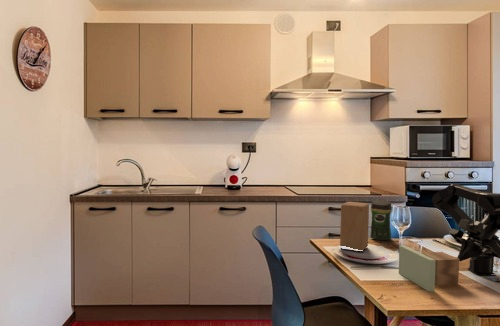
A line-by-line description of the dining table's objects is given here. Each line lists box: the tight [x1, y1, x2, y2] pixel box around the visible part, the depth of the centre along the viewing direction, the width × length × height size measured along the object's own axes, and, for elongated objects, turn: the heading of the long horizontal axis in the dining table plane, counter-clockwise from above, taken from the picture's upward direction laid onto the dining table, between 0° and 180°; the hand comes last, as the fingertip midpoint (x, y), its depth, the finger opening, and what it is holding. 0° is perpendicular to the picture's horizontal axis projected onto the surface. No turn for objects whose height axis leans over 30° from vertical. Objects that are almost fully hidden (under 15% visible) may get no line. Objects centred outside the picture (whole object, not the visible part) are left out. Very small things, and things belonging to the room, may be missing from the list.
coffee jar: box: [369, 200, 393, 241], centre depth 172 cm, size 10×8×19 cm
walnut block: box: [421, 251, 460, 286], centre depth 120 cm, size 8×8×8 cm
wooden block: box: [339, 201, 370, 251], centre depth 155 cm, size 10×10×20 cm
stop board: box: [398, 244, 436, 292], centre depth 119 cm, size 2×16×10 cm, turn 10°
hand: (458, 260), depth 121 cm, fingers closed
